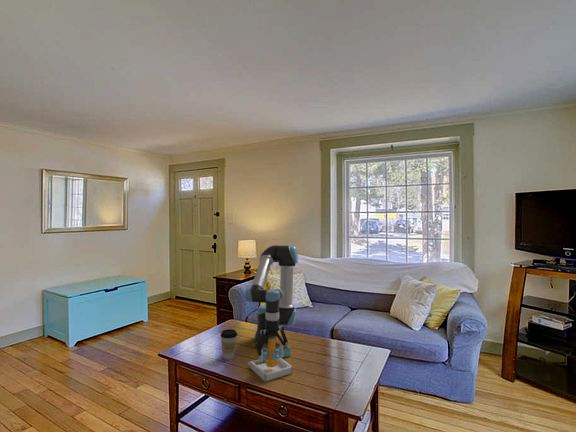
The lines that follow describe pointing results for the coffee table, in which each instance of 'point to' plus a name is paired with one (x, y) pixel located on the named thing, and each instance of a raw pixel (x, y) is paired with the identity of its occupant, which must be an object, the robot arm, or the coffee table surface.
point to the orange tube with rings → (271, 353)
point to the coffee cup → (228, 343)
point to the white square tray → (271, 369)
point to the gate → (285, 352)
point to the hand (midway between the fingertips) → (271, 358)
